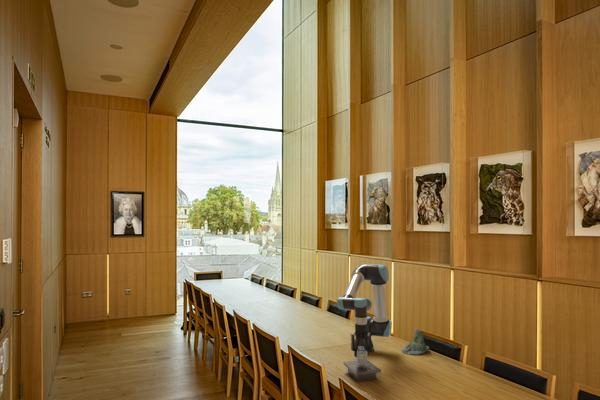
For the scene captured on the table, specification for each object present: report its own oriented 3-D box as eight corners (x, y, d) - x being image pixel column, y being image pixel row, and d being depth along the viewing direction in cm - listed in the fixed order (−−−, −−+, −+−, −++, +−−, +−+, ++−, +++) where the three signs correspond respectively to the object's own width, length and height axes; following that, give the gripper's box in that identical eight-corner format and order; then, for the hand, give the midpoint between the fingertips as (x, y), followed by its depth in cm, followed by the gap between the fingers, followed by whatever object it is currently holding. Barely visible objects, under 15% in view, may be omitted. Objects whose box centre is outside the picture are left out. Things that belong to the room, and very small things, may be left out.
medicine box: (356, 360, 263) (356, 346, 264) (363, 359, 263) (363, 345, 264) (359, 364, 255) (358, 349, 256) (366, 364, 255) (366, 349, 256)
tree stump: (395, 349, 312) (399, 325, 315) (418, 353, 318) (422, 329, 321) (409, 355, 295) (413, 329, 298) (433, 359, 301) (437, 334, 304)
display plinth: (343, 371, 266) (343, 361, 267) (366, 368, 271) (366, 359, 271) (356, 383, 247) (356, 372, 247) (380, 380, 251) (380, 369, 252)
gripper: (349, 326, 254) (350, 365, 253) (377, 323, 259) (377, 362, 258) (345, 323, 262) (345, 361, 260) (371, 321, 267) (372, 358, 265)
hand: (361, 361), depth 259 cm, fingers closed on medicine box, 5 cm apart
